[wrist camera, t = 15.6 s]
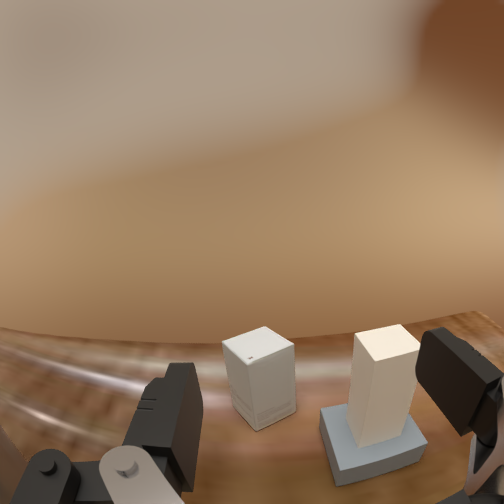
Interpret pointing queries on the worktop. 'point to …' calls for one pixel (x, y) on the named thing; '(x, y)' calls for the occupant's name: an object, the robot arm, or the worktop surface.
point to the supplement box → (261, 376)
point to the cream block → (381, 384)
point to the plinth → (366, 448)
